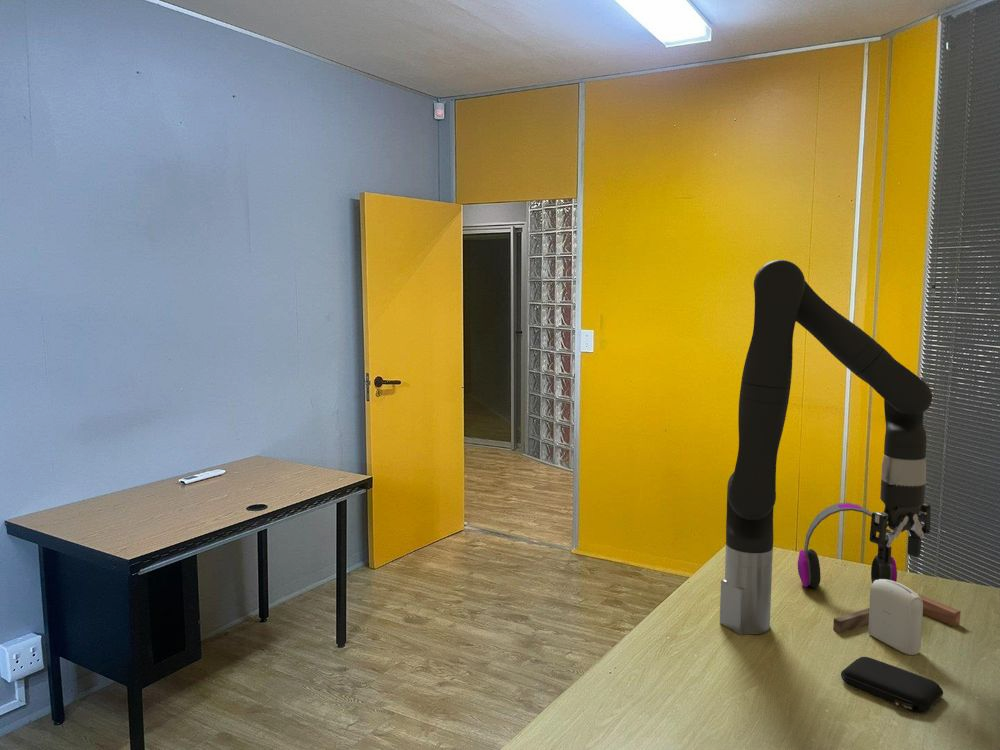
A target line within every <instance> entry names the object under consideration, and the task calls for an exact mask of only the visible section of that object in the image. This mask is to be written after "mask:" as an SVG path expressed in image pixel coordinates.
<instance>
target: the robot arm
mask: <svg viewBox="0 0 1000 750" xmlns="http://www.w3.org/2000/svg"><path fill="white" fill-rule="evenodd" d="M753 292H754V313H753V315H754V316H753V317H754V318H753V330H752V335H751V338H750V339H751V340H750V343H749V347H748V350H747V353H746V357H745V361H744V364H743V369H742V376H741V382H740V388H739V389H740V390H739V399H738V414H737V415H738V420H737V421H738V424H737V425H738V426H737V427H738V451H737V456H736V461H735V466H734V470H733V472H732V473H731V474H730V477H729V479H728V482H727V488H726V489H727V490H726V521H725V522H726V523H725V555H724V556H725V558H724V560H725V561H724V578H723V579H721V580H720V597H719V598H720V601H719V603H720V604H719V623H720V624H721V625H723V626H725V627H727V628H728V629H730V630H731V631H733V632H735V633H737V634H738V635H759V634H764V633H767V632H768V631H769V630H770V629H771V628H770V627H771V609H772V608H771V607H772V605H771V604H772V603H771V602H772V581H773V576H772V575H773V556H774V554H773V553H774V507H775V504H776V500H777V490H776V488H777V486H776V485H777V483H776V481H777V477H776V476H777V462H778V461H777V460H778V452H779V447H780V443H781V439H782V434H783V432H784V426H785V423H786V422H785V421H786V417H787V411H788V407H789V401H790V400H789V399H790V392H791V384H792V375H793V355H794V354H793V353H794V352H793V350H794V349H793V342H794V341H793V340H794V331H795V328H796V327H795V326H796V323H797V324H799V325H800V326H801V327H803V328H804V329H805V330H806V331H807V332H809V334H810V335H812V336H813V337H814V338H815V339H816V340H817V341H818V342H819V343H820V344H821V345H822V346H823V347H824V348H825V349H826V350H827V351H828V352H829V353H830V354H831V355H832V356H833V357H834V358H835V359H837V360H838V361H839V362H840V363H841V364H842V365H844V367H845V368H847V369H848V370H849V371H850V372H851V373H853V375H855V376H857V378H858V379H861V380H862V381H863V382H864V383H866V384H868V386H870V387H871V388H872V389H873V390H874V391H875V392H876V393H877V394H878V395H879V396H881V398H883V403H884V404H883V407H884V410H883V411H884V420H885V433H884V445H883V449H884V450H883V458H882V463H881V464H882V465H881V476H880V477H881V479H880V493H879V494H880V497H879V498H880V500H881V502H882V503H883V504H884V510H883V512H877V511H872V512H871V513H872V517H871V519H870V531H869V542H871V543H873V544H877V555H878V562H879V563H881V564H883V565H886V566H887V565H890V564H891V557H892V544H893V542H894V540H895V539H897V538H898V537H899V536H900V534H901V533H903V532H904V531H906V533H908V537H907V538H908V539H907V554H908V556H911V557H914V558H919V557H921V551H922V550H921V549H922V539H924V538H925V534H926V535H929V534H930V533H931V509H932V508H931V505H930V504H927V503H925V502H926V499H925V498H926V486H927V485H926V483H927V463H926V460H927V459H926V458H927V457H926V456H927V455H926V454H927V432H926V428H925V426H924V412H926V411H927V410H928V409H929V408H930V406H931V404H932V401H933V394H932V393H933V392H932V389H931V388H930V386H929V384H927V382H925V381H924V380H923V379H921V378H920V377H919V376H918V375H916V374H915V373H914V372H912V371H911V370H910V369H909V368H907V367H906V366H905V365H903V364H902V363H900V362H899V361H898V360H896V359H895V357H893V356H892V354H891V353H890V352H889V351H888V350H886V349H885V348H884V347H883V346H882V345H880V343H878V341H876V340H875V339H874V338H872V336H870V335H869V334H868V333H866V332H865V331H864V330H863V329H861V328H860V327H859V326H858V325H856V324H855V323H854V322H853V321H850V320H849V319H847V318H846V317H845V316H843V315H842V314H841V313H840V312H838V311H837V310H836V309H834V307H832V306H830V305H829V304H828V303H827V302H826V301H825V300H824V299H823V298H821V297H820V296H819V294H817V293H816V292H815V290H814V289H813V288H812V287H811V286H810V285H809V284H808V282H807V281H806V279H805V275H804V273H803V271H802V269H801V268H800V267H799V266H798V265H797V264H796V263H794V262H792V261H789V260H785V259H777V260H772V261H769V262H767V263H765V264H764V265H763V266H761V267H760V268H759V269H758V271H757V272H756V274H755V276H754V280H753ZM922 523H923V525H922ZM877 533H878V535H877ZM886 535H888V538H887V540H885V538H886ZM890 546H891V547H890Z"/></svg>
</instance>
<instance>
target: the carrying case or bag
mask: <svg viewBox="0 0 1000 750" xmlns="http://www.w3.org/2000/svg"><path fill="white" fill-rule="evenodd" d="M840 677H841V680H843V682H844V683H845V684H846V685H848V686H849V687H851V688H854V689H856V690H858V691H861V692H863V693H866V694H868V695H870V696H871V695H872V696H873V697H876V698H879V699H881V700H883V701H886V702H889V703H891V704H893V705H894V706H895V707H898V708H905V709H907V710H909V711H911V712H914V713H918V714H922V713H926V712H928V711H929V710H931V709H932V708H933V707H934V705H935V704H936V703H937V702H938V701H939V700H940V699H941V698H942V697H943V695H944V691H943V689H942V687H941V686H940V684H939V683H938V682H936V681H934V680H933V679H930V678H927V677H924V676H922V675H919V674H916V673H915V672H914V673H913V672H911V671H908V670H906V669H902V668H901V667H898V666H895V665H891V664H890V663H886V662H883V661H881V660H879V659H875V658H872V657H868V656H861V657H858V658H857V659H855V660H854V661H852V662H851V663H850V664H849V665H847V667H845V668H844V669H843V670H842V671H841V672H840Z"/></svg>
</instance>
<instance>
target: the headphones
mask: <svg viewBox="0 0 1000 750" xmlns="http://www.w3.org/2000/svg"><path fill="white" fill-rule="evenodd" d="M845 511H849V512H850V511H854V512H859V513H863V514H865V515H867V516H869V517H871V518H872V513H873V512H871V511H870V510H868V509H867V508H866V507H863V506H862V505H859V504H857V503H856V504H855V503H851V502H839V503H835V504H831V505H829V506H827V507H825V508H823V510H821V511H820V512H819V513H818V514H816V516H815V517H814V519H813V520H812V522H811V523H810V525H809V527H808V528H807V532H806V534H805V540H804V546H803V548H804V549H800V550H799V554H798V559H797V572H798V576H799V579H800V581H801V584H802V587H804V588H808V586H810V587H811V588H813V589H816V588H818V587H819V586H820V583H821V564H820V560H819V555H818V553H817V552H816V551H815V550H814V548H813V549H812V548H809V545H810V539H811V537H812V535H813V533H814V532H815V529H816V528H817V527H818V526H819V524H820V523H822V522H823V521H824V520H825V519H827V518H828V517H829V516H831V515H833V514H836V513H840V512H845ZM888 536H889V535H886V538H885V540H887V538H888ZM890 547H891V548H892V545H891V546H890ZM870 567H871V569H870V579H871V584H872V583H873V582H874V581H875V580H879V579H887V580H892V581H895V582H897V580H898V570H897V569H898V568H897V563H896V559H895V558H894V556H891V564H890V565H887V566H886V565H883V564H881V563H879V562H878V554H876V555H875V556H874V558H873V560H872V562H871V566H870Z"/></svg>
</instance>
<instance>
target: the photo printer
mask: <svg viewBox="0 0 1000 750" xmlns="http://www.w3.org/2000/svg"><path fill="white" fill-rule="evenodd" d="M918 595H919V594H917V593H916V592H915V591H914V590H912V589H911V588H909V587H908V586H906V585H904V584H902V583H900V582H895V581H892V580H887V579H879V580H875V581H874V582H873V583H872V582H871V586H870V590H869V607H868V608H869V624H868V634H869V635H870V636H872V637H874V638H875V639H877V640H879V641H880V642H881V643H884V644H886V645H888V646H890V647H892V648H894V649H895V650H897V651H900V652H901V653H903V654H906V655H909V656H914V655H918V654H919V652H920V651H921V650H922V649H921V647H922V633H923V615H924V614H923V601H922V599H921V598H920V597H919V596H918Z"/></svg>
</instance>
